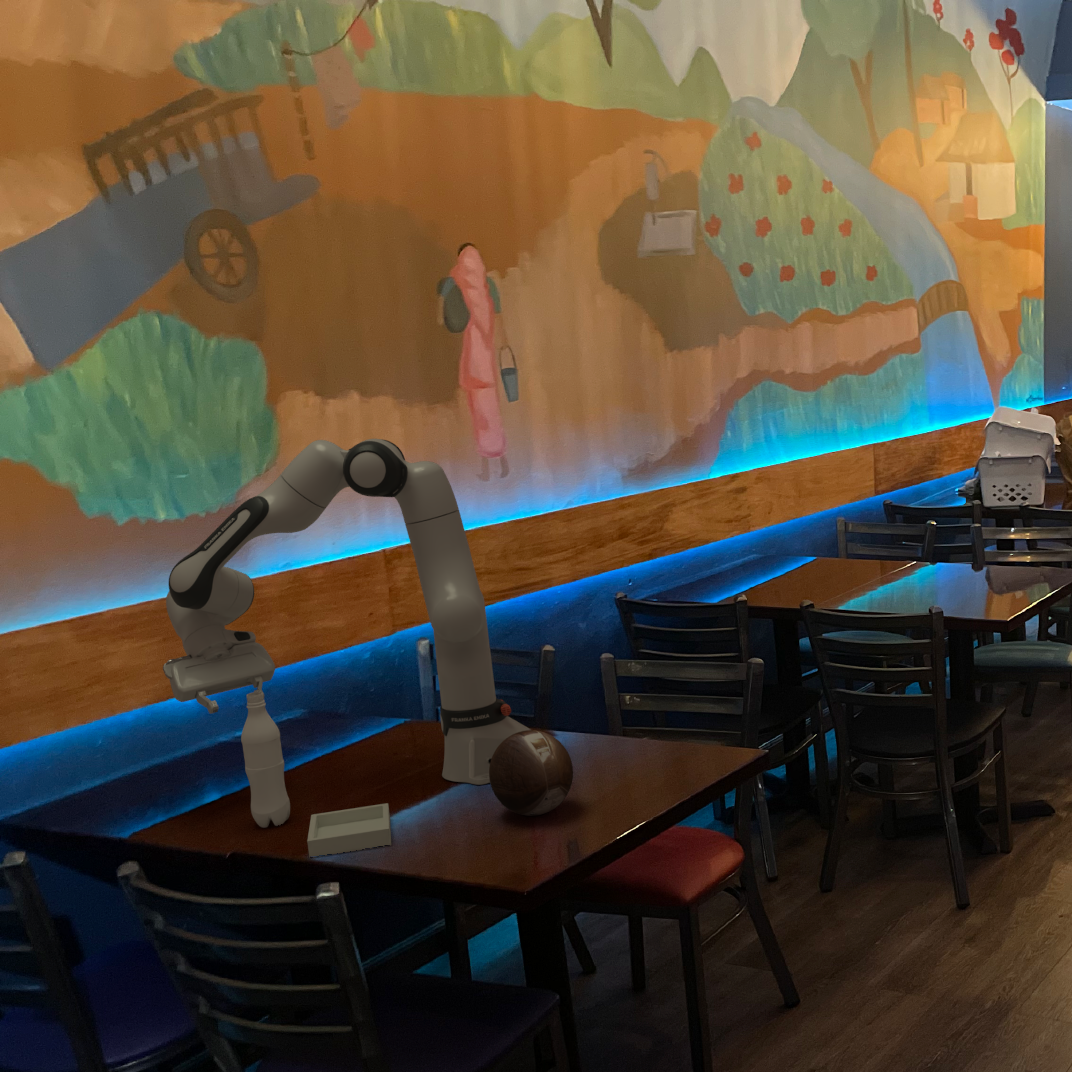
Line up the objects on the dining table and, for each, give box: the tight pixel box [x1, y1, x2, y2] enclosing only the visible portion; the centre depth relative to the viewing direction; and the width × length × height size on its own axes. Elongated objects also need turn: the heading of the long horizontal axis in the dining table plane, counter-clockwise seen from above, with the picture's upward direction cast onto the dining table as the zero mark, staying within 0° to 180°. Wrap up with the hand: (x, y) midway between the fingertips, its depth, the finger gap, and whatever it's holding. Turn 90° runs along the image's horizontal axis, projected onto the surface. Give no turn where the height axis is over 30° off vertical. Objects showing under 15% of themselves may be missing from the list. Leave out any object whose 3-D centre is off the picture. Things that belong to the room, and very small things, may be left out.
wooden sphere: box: [489, 729, 574, 817], centre depth 216 cm, size 15×15×15 cm
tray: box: [306, 802, 392, 858], centre depth 214 cm, size 14×14×3 cm
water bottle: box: [240, 691, 291, 829], centre depth 226 cm, size 7×7×25 cm
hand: (237, 705), depth 232 cm, fingers open, 8 cm apart
